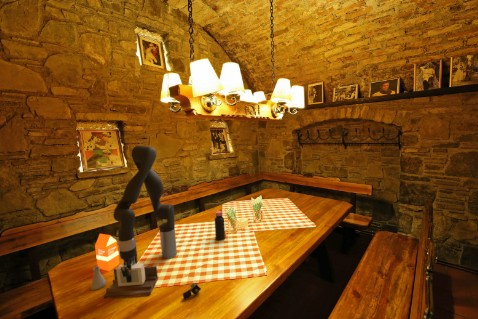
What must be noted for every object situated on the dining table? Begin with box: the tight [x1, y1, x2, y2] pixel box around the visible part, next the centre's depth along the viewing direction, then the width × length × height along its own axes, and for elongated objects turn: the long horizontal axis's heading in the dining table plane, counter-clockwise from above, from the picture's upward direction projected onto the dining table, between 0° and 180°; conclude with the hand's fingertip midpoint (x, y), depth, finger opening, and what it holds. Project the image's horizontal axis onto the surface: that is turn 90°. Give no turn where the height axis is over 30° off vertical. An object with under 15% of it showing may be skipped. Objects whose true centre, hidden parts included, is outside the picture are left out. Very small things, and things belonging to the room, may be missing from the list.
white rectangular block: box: [115, 262, 146, 286], centre depth 115 cm, size 12×4×9 cm, turn 93°
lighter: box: [182, 282, 202, 300], centre depth 108 cm, size 8×2×5 cm
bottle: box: [214, 210, 226, 241], centre depth 164 cm, size 7×7×20 cm
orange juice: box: [94, 233, 121, 272], centre depth 136 cm, size 8×9×20 cm
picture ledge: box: [103, 265, 159, 299], centre depth 116 cm, size 12×22×8 cm, turn 92°
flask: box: [90, 265, 107, 291], centre depth 119 cm, size 7×7×10 cm
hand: (131, 278), depth 115 cm, fingers closed on white rectangular block, 4 cm apart
